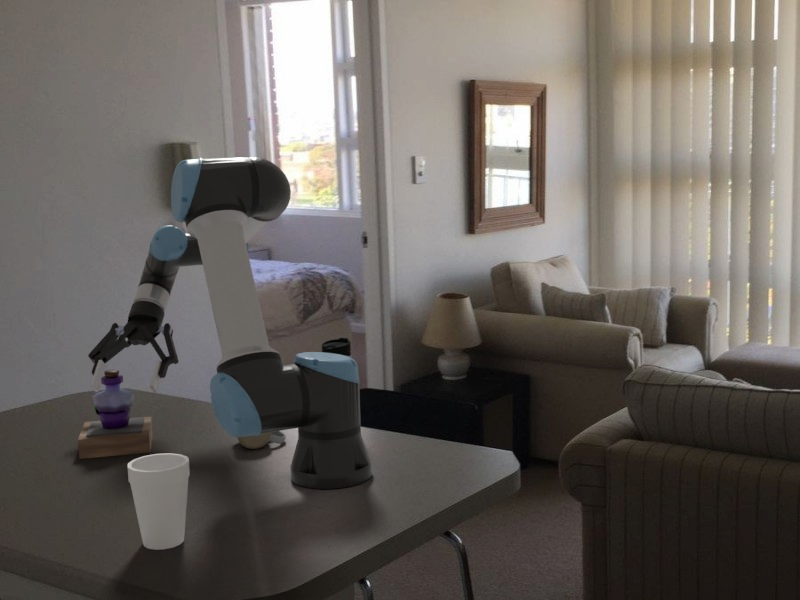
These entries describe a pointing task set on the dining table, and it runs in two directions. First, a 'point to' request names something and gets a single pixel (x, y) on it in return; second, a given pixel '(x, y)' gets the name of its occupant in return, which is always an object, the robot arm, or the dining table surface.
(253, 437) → the ceramic mug
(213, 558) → the dining table surface
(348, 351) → the travel mug
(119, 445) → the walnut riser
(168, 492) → the foam cup
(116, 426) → the potion bottle
